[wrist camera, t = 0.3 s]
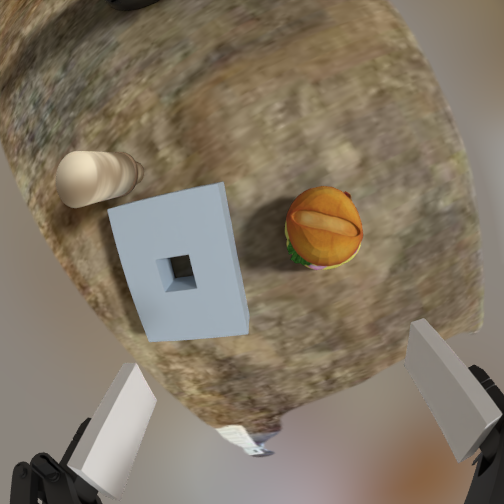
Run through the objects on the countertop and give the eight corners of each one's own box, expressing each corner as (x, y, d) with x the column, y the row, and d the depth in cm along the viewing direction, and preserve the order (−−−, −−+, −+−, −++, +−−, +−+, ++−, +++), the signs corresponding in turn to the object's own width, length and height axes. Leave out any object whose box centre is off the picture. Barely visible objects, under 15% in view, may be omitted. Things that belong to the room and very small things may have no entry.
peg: (113, 159, 34) (51, 161, 21) (147, 148, 34) (92, 141, 20) (120, 197, 36) (61, 214, 22) (155, 188, 35) (102, 201, 22)
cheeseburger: (297, 278, 39) (301, 294, 29) (272, 208, 38) (267, 200, 29) (362, 254, 37) (386, 262, 27) (337, 184, 37) (353, 169, 27)
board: (124, 204, 36) (107, 209, 31) (223, 181, 35) (217, 183, 30) (159, 324, 42) (149, 341, 37) (249, 315, 41) (248, 333, 36)
